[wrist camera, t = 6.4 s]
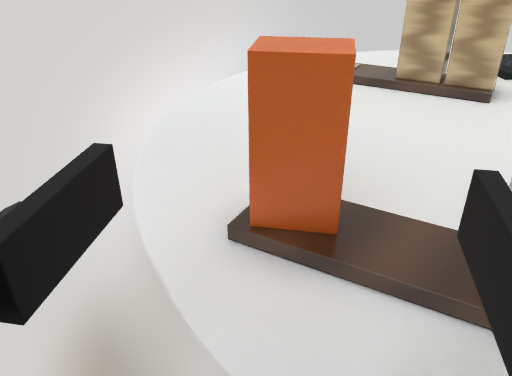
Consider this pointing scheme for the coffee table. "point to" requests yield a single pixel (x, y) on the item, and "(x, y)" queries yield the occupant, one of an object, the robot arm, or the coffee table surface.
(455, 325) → the coffee table surface
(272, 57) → the orange rectangular prism
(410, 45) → the wooden block rack
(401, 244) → the wooden block stand
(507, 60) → the calculator
